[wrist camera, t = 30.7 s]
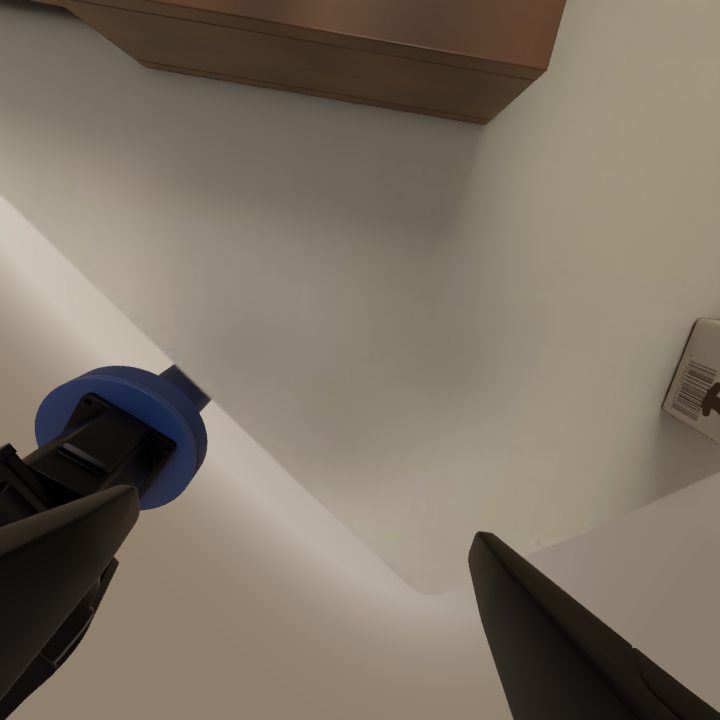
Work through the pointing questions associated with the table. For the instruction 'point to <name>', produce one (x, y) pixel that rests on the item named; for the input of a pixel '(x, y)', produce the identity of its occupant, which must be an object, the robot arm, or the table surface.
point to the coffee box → (699, 381)
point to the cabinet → (346, 47)
